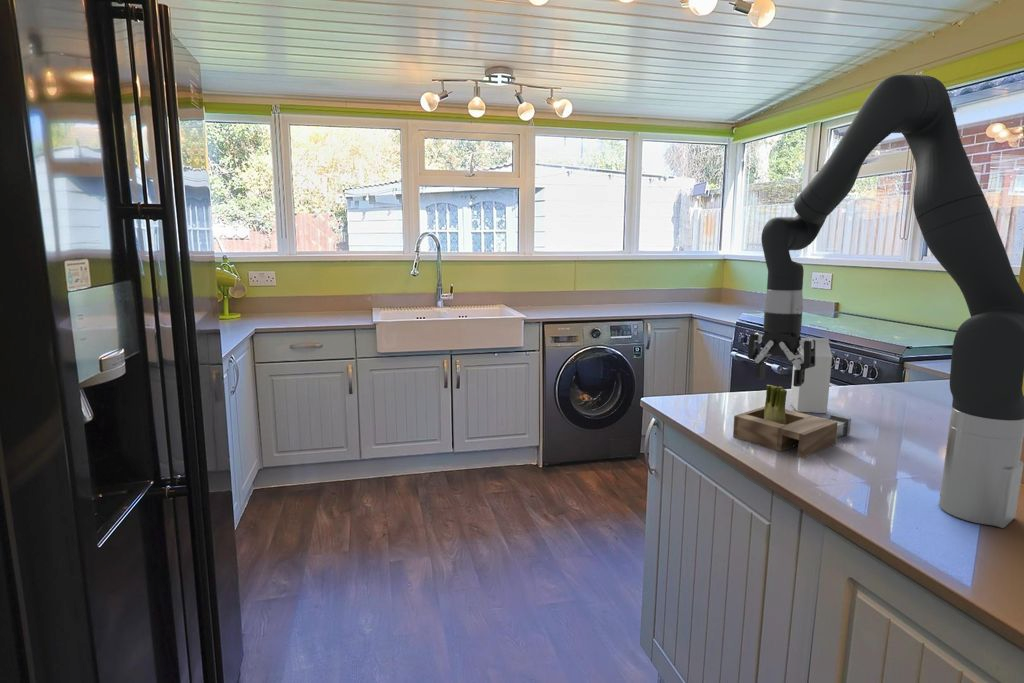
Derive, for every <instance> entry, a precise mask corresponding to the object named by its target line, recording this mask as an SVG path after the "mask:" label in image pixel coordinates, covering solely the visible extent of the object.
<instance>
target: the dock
mask: <svg viewBox="0 0 1024 683" xmlns="http://www.w3.org/2000/svg"><path fill="white" fill-rule="evenodd" d="M764 410H765V405H764V406H762V407H758V408H755V409H752V410H751V409H750V410H748V411H745V412H743V413H738V414H735V415H734V416H733V417H734V418H733V432H732V433H733V434H732V437H733V438H736V439H739V440H742V441H745V440H746V442H748V441H749V443H751V444H755V443H756V444H755V445H758V444H759V446H762V447H765V448H769V449H770V450H771V449H772V450H775V451H779V452H784V451H785V450H788V449H791V448H793V447H796V446H797V447H798V449H797V457H798V458H801V459H804V458H806V457H807V456H810V455H813V454H815V453H817V452H820V451H822V450H824V449H826V447H827V448H829V447H831V446H833V445H832V444H834V445H835V443H836V444H837V442H836V441H837V438H836V434H837V424H838V422H836V421H832V420H830V419H827V418H823V417H819V416H815V415H812V414H808V413H804V412H798V411H796V410H795V411H794V410H790V409H786V408H785V416H786V425H784V424H780V423H776V422H773V421H769V420H765V419H764ZM830 445H831V446H830ZM828 446H829V447H828ZM823 448H824V449H823ZM821 449H822V450H821ZM819 450H820V451H819Z"/></svg>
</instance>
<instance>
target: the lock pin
mask: <svg viewBox="0 0 1024 683" xmlns="http://www.w3.org/2000/svg"><path fill="white" fill-rule="evenodd" d="M829 416H830V418H829V420H832V421H836V422H838V424H837V434H836V439H838V438H841V437H842V436H849V435H850V432H851V422H852V418H851V417H846V416H843V415H838V414H835V413H834V414H830V415H829Z"/></svg>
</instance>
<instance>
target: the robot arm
mask: <svg viewBox="0 0 1024 683" xmlns="http://www.w3.org/2000/svg"><path fill="white" fill-rule="evenodd" d="M947 89H948V88H946V86H945V85H944V83H943V82H942V81H941V80H939V79H938V78H937V77H934V76H930V75H926V74H925V75H924V74H922V75H921V74H912V73H906V74H905V73H902V74H901V73H900V74H899V73H898V74H894V75H890V76H887V77H885V78H884V79H882V80H881V81H880V82H879V83H877V85H875V87H874V88H873V89H872V90H871V91H870V93H869V94H868V96H867V97H866V99H865V101H864V102H863V103H862V104H861V107H860V108H859V110H858V111H857V113H856V115H855V117H854V118H853V119H852V122H851V123H850V124H849V127H848V128H847V129H846V130H845V132H844V134H843V136H842V137H841V139H840V140H839V142H838V143H837V145H836V147H835V148H834V150H833V152H832V153H831V154H830V156H829V158H828V159H827V160H826V162H825V163H824V164H823V166H822V167H821V168H820V170H819V171H818V172H817V173H816V174H815V175H814V176H813V178H812V179H810V181H809V183H807V185H806V186H805V187H804V188H803V190H802V191H801V192H800V193H799V195H798V196H796V197H797V198H796V199H795V200H794V204H793V207H794V208H793V209H794V210H795V213H796V214H797V215H796V216H778V217H773V218H771V219H769V220H767V222H766V223H765V224H764V227H763V229H762V231H761V239H760V240H761V246H762V251H763V255H764V258H765V259H764V261H765V264H766V269H767V279H766V280H767V281H766V282H767V283H766V292H765V298H764V311H763V312H764V313H763V314H764V315H763V331H764V333H763V334H761V333H760V332H756V333H755V332H754V333H751V334H750V335H749V342H748V351H747V358H748V359H749V360H752V361H754V362H755V372H754V374H755V377H756V379H757V380H760V381H761V380H765V378H766V369H767V368H766V367H767V363H766V361H767V359H769V358H770V356H779V357H781V358H787V359H788V361H790V362H791V364H792V365H794V366H795V368H796V370H794V383H793V385H794V386H796V387H799V386H801V385H802V384H803V383H804V378H805V369H806V368H811V367H814V366H815V340H813V339H811V340H801V338H802V337H801V332H802V326H803V325H802V323H803V322H802V321H803V310H804V296H803V288H804V287H803V286H804V271H805V270H804V266H803V264H801V263H800V262H797V261H793V260H792V256H791V254H790V251H800V250H803V249H805V248H807V247H809V246H810V245H811V244H812V243H813V242H814V241H815V240H816V238H817V237H818V235H819V233H820V231H821V229H822V227H823V225H824V224H825V222H826V220H827V218H828V216H829V215H830V214H831V213H832V212H833V211H835V209H836V208H837V207H838V206H839V205H840V204H841V202H843V200H845V198H846V197H847V196H848V195H849V193H850V192H851V190H852V189H853V187H854V185H855V183H856V182H857V181H856V180H857V179H858V176H859V173H860V170H861V168H862V165H863V164H864V162H865V160H866V158H868V157H869V154H870V153H872V151H873V150H874V149H875V148H876V147H877V146H878V145H879V144H880V143H881V142H883V141H884V140H885V139H886V138H887V137H888V136H890V135H891V134H902V135H903V137H904V139H905V141H906V144H907V145H908V147H909V149H910V152H911V154H912V156H913V159H914V164H915V167H916V169H915V170H916V171H915V173H916V175H915V184H914V191H913V202H912V205H913V206H912V207H913V211H914V212H913V213H914V215H915V219H916V221H917V224H918V227H919V230H920V232H921V234H922V237H923V240H924V241H925V245H926V246H927V248H928V250H929V251H930V253H931V254H932V255H933V257H934V258H935V259H936V261H938V263H939V264H940V265H941V267H942V268H943V269H944V270H945V271H946V272H947V274H948V275H949V276H950V277H951V279H952V280H953V281H954V283H955V284H956V285H957V286H958V288H959V289H960V292H961V294H962V295H963V297H964V300H965V302H966V306H967V309H968V312H969V314H970V317H969V318H967V319H965V320H964V321H963V322H962V323H961V324H960V325H959V327H958V328H957V330H956V333H955V335H954V338H953V342H952V349H951V358H950V359H951V360H950V372H949V390H950V393H951V396H952V402H951V411H950V419H949V426H948V433H947V439H946V440H947V442H946V448H945V453H944V454H945V455H944V463H943V469H942V470H943V471H942V477H941V486H940V492H939V500H938V504H939V505H938V506H939V507H940V509H941V510H942V511H944V512H946V513H947V514H948V515H951V516H953V517H956V518H958V519H962V520H963V521H967V522H972V523H975V524H980V525H988V526H994V527H998V528H1001V529H1004V528H1006V526H1008V525H1009V524H1010V523H1011V522H1012V521H1013V520H1014V519H1015V518H1016V514H1017V508H1018V503H1019V502H1018V501H1019V497H1020V489H1021V483H1022V478H1023V471H1024V461H1022V460H1021V457H1022V452H1023V451H1022V449H1023V443H1024V393H1023V385H1024V291H1023V289H1022V287H1021V286H1020V283H1019V281H1018V280H1017V277H1016V275H1015V272H1014V271H1013V267H1012V266H1011V265H1012V264H1011V262H1010V260H1009V259H1010V258H1009V256H1008V254H1007V250H1006V249H1005V245H1004V242H1003V240H1002V238H1001V235H1000V232H999V231H998V228H997V225H996V222H995V218H994V217H993V213H992V210H991V208H990V206H989V203H988V201H987V199H986V197H985V194H984V192H983V190H982V188H981V186H980V184H979V181H978V179H977V177H976V175H975V172H974V169H973V167H972V164H971V161H970V158H969V157H968V154H967V153H966V150H965V148H964V145H963V143H962V140H961V136H960V132H959V129H958V128H959V127H958V125H957V122H956V116H955V113H954V109H953V106H952V102H951V98H950V95H949V92H948V90H947ZM761 343H763V344H764V347H763V348H762V349H761V350H760V347H761V346H760V345H761ZM800 345H801V346H802V349H803V350H804V360H803V358H802V355H801V353H800V351H799V350H798V348H799V346H800Z"/></svg>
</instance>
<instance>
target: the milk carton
mask: <svg viewBox="0 0 1024 683" xmlns="http://www.w3.org/2000/svg"><path fill="white" fill-rule="evenodd" d="M811 339H813V340H815V366H814V367H811V368H806V369H805V378H804V383H803V384H802V385H801V386H799V387H796V386H794V385H793V383H794V370H796V368H795V366H794V365H793V364H792V365H793V366H792V375H791V376H792V377H791V389H790V401H789V404H790V406H792V407H793V409H795V411H796V412H799V413H821V414H827V413H828V406H829V405H828V403H829V392H830V384H831V383H830V382H831V372H832V363H833V354H832V350H831V347H830V338H824V337H823V338H820V337H819V338H815V337H801V340H811ZM798 350H799V351H800V353H801V355H802V358H803V360H804V350H803V349H802V346H801V345H800V346H799V348H798Z"/></svg>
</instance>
